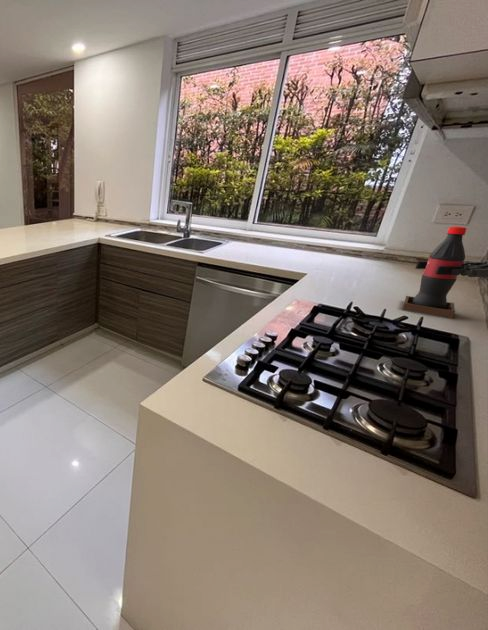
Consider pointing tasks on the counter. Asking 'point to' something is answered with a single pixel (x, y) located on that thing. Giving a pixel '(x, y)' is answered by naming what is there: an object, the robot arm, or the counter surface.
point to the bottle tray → (429, 308)
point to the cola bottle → (439, 285)
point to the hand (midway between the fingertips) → (427, 267)
